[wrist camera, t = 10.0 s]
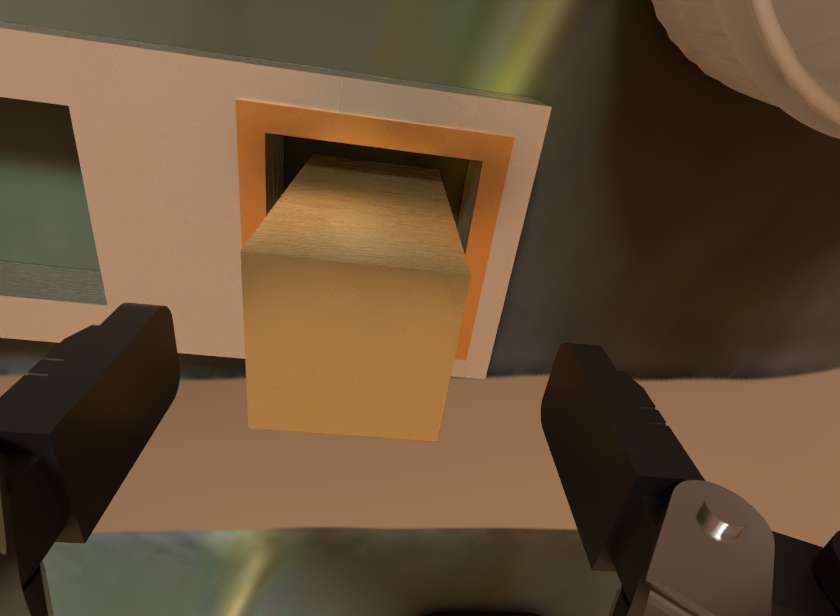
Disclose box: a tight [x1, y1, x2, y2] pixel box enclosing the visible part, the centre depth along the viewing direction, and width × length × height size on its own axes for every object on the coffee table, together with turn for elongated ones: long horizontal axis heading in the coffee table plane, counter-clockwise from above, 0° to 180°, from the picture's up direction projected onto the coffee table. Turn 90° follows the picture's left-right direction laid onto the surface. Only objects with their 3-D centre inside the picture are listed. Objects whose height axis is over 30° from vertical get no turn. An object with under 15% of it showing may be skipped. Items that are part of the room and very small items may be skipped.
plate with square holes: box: [0, 21, 552, 379], centre depth 17 cm, size 10×22×3 cm, turn 82°
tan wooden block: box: [240, 154, 471, 442], centre depth 15 cm, size 4×4×9 cm
